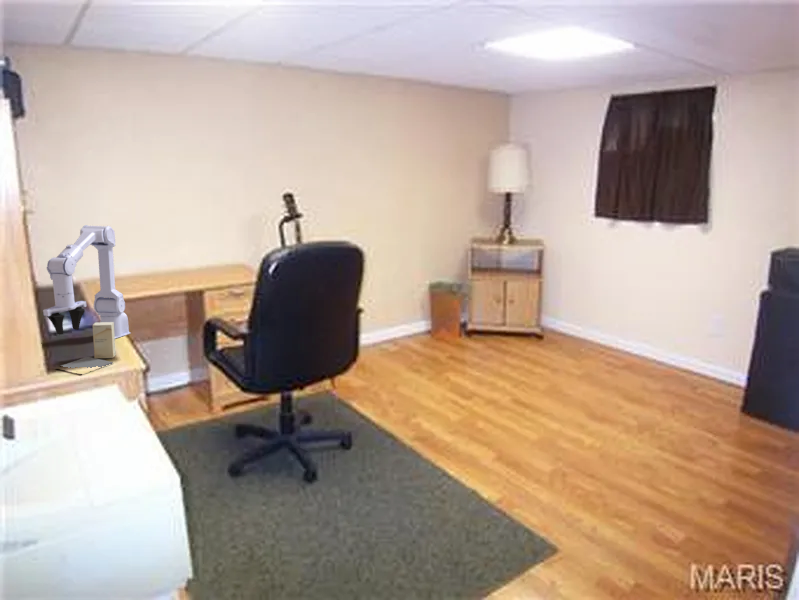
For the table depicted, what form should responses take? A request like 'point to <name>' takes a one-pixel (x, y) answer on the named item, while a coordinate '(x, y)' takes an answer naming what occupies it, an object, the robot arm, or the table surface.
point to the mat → (87, 363)
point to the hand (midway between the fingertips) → (68, 331)
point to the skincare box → (104, 340)
